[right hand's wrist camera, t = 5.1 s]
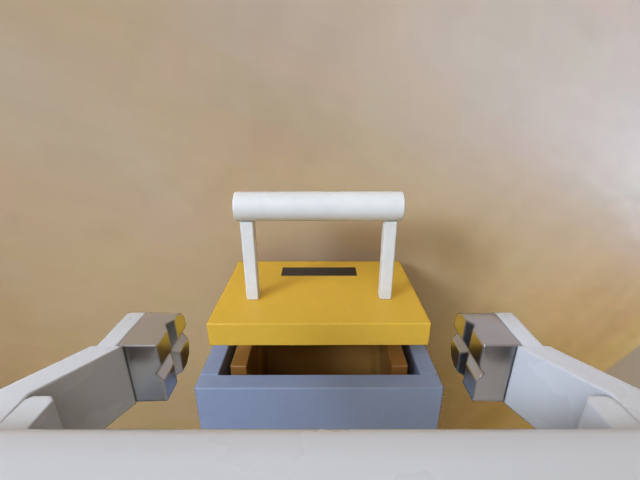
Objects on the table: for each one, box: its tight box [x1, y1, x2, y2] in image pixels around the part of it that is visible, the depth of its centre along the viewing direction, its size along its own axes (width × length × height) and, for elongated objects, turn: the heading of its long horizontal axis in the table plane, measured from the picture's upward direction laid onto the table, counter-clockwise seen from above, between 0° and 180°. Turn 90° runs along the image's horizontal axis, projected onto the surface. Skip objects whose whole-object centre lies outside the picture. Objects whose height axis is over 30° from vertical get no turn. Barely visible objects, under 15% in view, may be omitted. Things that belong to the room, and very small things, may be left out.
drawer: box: [207, 191, 431, 375], centre depth 21 cm, size 21×10×7 cm, turn 0°
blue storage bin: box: [195, 345, 444, 429], centre depth 23 cm, size 16×11×9 cm
